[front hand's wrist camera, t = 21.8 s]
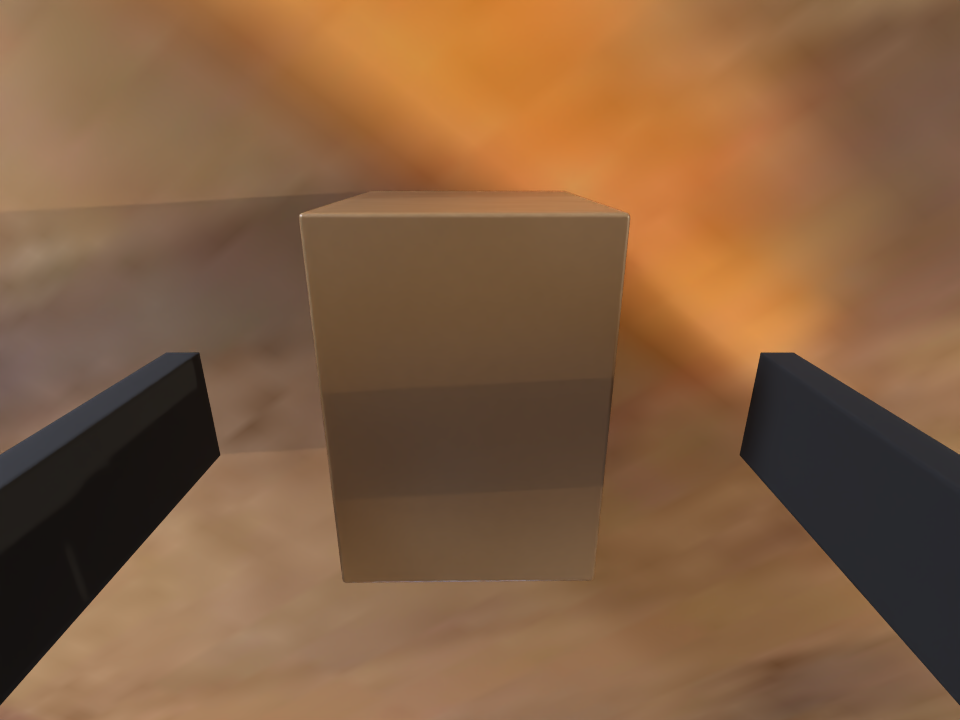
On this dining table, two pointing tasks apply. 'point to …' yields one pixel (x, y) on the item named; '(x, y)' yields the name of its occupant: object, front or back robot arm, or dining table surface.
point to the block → (466, 379)
